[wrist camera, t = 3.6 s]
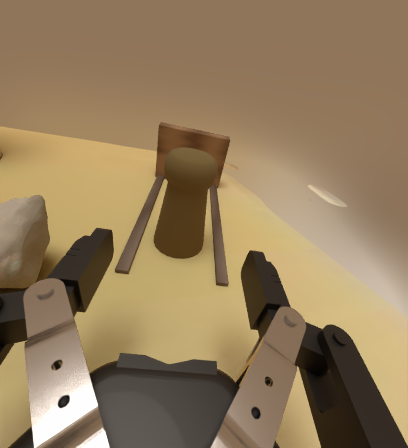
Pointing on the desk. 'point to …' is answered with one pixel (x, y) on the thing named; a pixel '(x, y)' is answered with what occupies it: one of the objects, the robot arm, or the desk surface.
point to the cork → (184, 202)
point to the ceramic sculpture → (22, 241)
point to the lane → (167, 141)
